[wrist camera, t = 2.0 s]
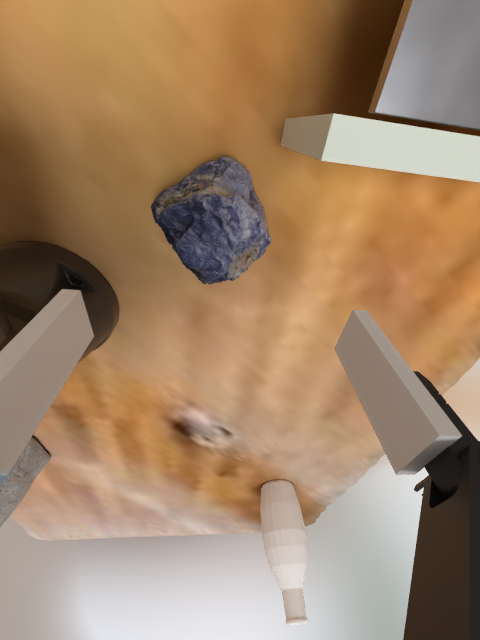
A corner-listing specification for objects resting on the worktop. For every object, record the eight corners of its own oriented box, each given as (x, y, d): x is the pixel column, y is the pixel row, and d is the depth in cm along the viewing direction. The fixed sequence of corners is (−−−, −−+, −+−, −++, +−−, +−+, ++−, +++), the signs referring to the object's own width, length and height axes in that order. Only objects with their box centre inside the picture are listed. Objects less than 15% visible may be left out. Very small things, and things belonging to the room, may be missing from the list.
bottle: (261, 495, 77) (274, 627, 57) (253, 481, 70) (265, 625, 50) (298, 489, 76) (325, 622, 55) (293, 474, 69) (322, 619, 49)
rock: (127, 212, 24) (163, 234, 17) (205, 142, 25) (270, 137, 18) (193, 285, 32) (237, 321, 25) (251, 229, 33) (309, 249, 26)
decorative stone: (6, 432, 50) (-62, 528, 38) (40, 433, 50) (-17, 528, 39) (24, 458, 56) (-29, 547, 44) (54, 458, 57) (9, 546, 45)
